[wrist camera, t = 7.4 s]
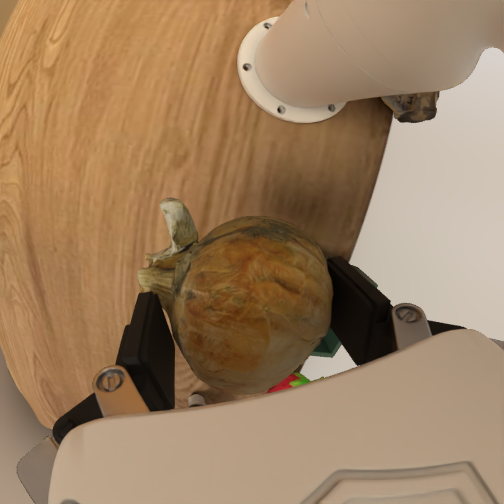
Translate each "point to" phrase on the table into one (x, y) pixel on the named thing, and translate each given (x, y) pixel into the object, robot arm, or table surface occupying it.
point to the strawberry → (291, 382)
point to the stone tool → (413, 106)
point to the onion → (241, 297)
